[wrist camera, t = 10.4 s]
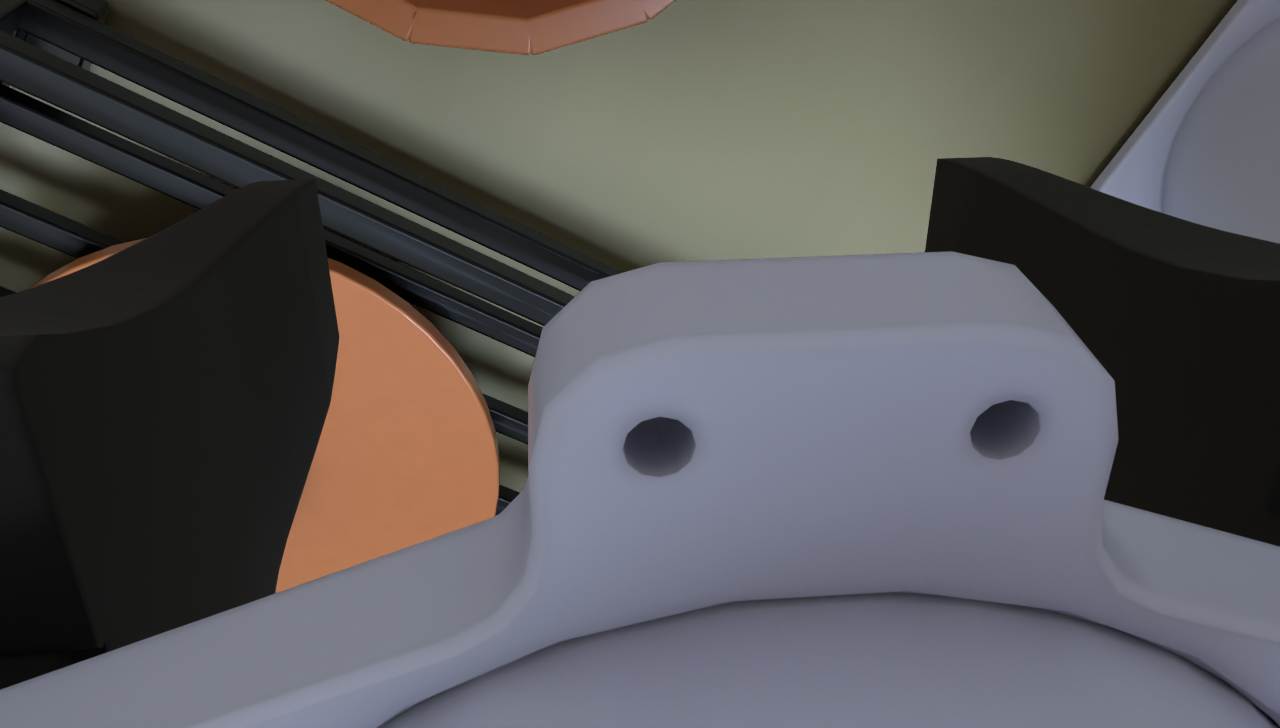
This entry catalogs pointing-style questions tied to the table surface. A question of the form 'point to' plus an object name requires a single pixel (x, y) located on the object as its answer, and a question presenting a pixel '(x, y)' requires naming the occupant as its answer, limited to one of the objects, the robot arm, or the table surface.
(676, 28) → the table surface
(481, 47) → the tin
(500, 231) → the dish rack
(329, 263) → the lid
